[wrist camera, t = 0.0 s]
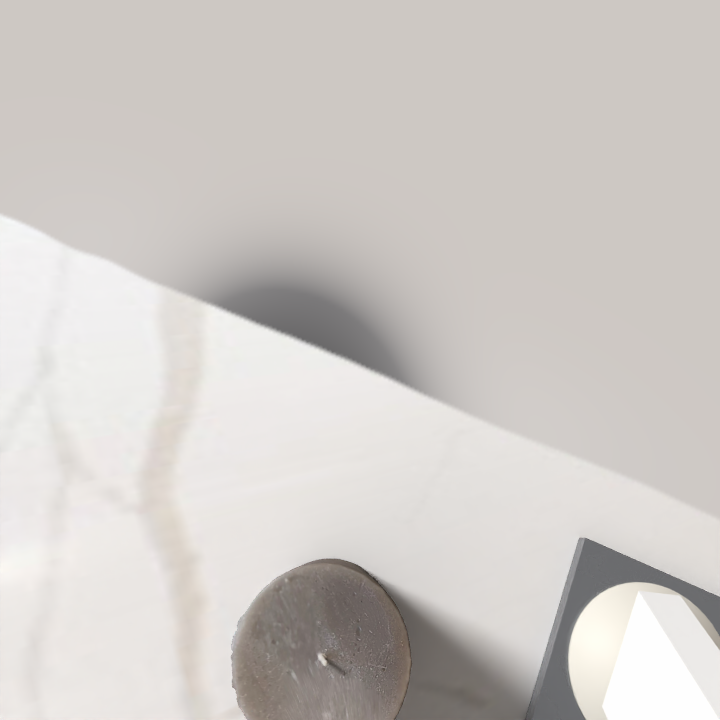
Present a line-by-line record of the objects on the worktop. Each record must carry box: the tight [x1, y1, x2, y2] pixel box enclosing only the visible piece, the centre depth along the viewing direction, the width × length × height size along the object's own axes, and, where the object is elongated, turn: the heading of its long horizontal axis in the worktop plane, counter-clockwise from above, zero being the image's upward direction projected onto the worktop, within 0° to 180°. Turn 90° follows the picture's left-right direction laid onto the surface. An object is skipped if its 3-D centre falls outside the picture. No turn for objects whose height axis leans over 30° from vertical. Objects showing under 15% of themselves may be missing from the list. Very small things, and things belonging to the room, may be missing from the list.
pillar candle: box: [231, 559, 412, 720], centre depth 36 cm, size 10×10×15 cm
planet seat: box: [568, 582, 720, 720], centre depth 42 cm, size 12×12×1 cm
